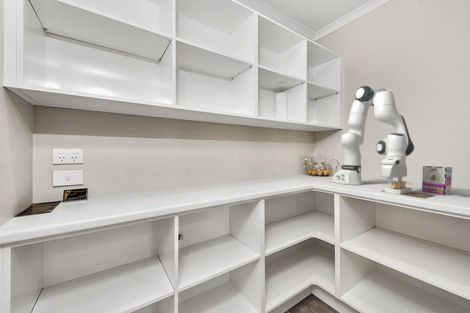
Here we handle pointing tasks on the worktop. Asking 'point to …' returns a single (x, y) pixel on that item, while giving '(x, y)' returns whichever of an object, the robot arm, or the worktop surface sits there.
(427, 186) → the candy bar box
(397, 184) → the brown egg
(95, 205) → the worktop surface
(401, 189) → the housing
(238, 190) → the worktop surface
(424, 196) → the assembly board
